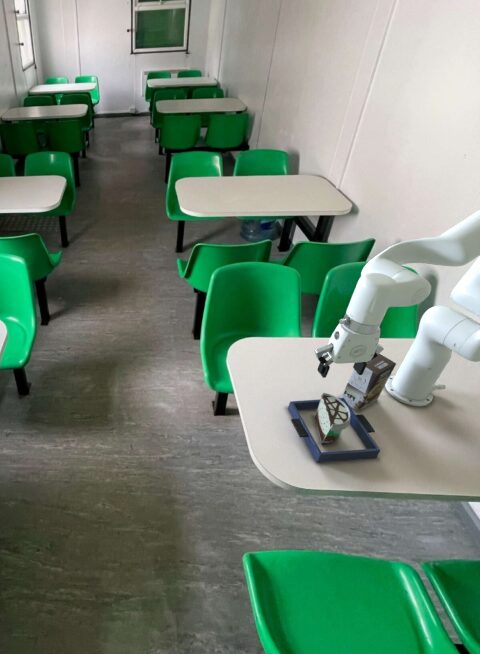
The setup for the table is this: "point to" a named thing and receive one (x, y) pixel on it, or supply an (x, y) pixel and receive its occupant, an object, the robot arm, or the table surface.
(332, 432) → the food container
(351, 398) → the coffee box
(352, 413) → the roasting pan
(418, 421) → the table surface
